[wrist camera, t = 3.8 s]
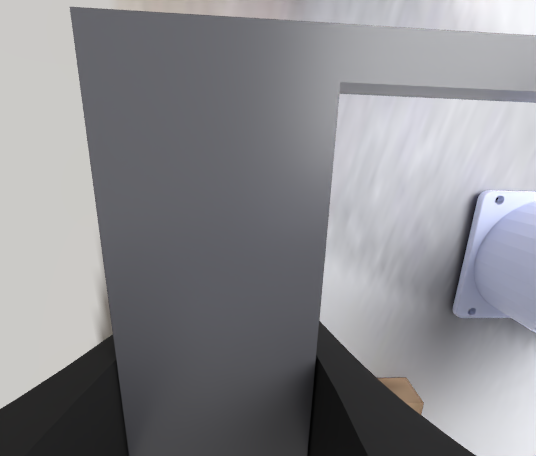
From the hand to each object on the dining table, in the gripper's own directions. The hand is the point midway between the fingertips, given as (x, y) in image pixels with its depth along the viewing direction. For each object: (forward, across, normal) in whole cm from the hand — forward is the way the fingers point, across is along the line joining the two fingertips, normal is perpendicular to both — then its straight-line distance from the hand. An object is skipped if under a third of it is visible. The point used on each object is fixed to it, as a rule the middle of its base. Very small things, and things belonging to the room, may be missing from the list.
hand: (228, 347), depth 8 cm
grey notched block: (+2, -3, 0) cm, 3 cm away
